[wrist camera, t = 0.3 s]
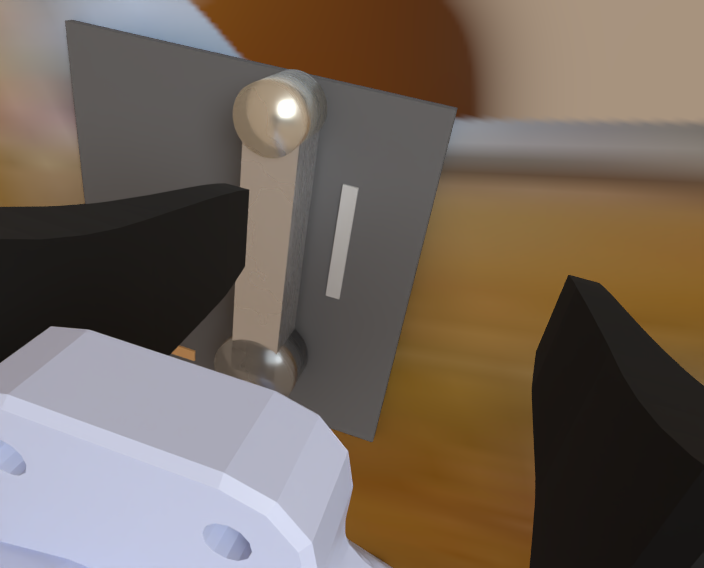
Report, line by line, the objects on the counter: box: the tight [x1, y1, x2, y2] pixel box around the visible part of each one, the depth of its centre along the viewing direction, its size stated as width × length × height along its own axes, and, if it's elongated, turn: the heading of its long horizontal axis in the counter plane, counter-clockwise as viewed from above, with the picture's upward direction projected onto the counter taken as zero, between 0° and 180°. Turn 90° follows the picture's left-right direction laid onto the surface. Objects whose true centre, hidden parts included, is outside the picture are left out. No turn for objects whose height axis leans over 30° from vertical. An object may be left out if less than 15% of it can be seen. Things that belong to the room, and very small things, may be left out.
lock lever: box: [214, 70, 327, 397], centre depth 21 cm, size 14×4×2 cm, turn 171°
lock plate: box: [65, 20, 457, 442], centre depth 24 cm, size 16×15×1 cm
